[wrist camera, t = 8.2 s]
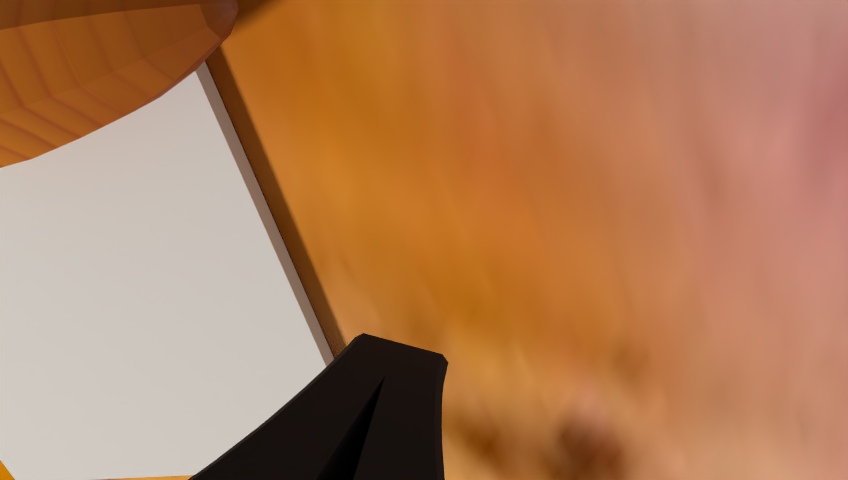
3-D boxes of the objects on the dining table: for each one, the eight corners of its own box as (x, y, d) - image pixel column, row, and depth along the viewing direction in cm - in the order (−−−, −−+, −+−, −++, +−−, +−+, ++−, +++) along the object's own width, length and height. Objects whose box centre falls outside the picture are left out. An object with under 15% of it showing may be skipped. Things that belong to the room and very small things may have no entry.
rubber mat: (27, 472, 30) (17, 482, 29) (-305, 21, 21) (-327, 25, 21) (375, 453, 24) (370, 467, 23) (105, -167, 16) (89, -169, 15)
